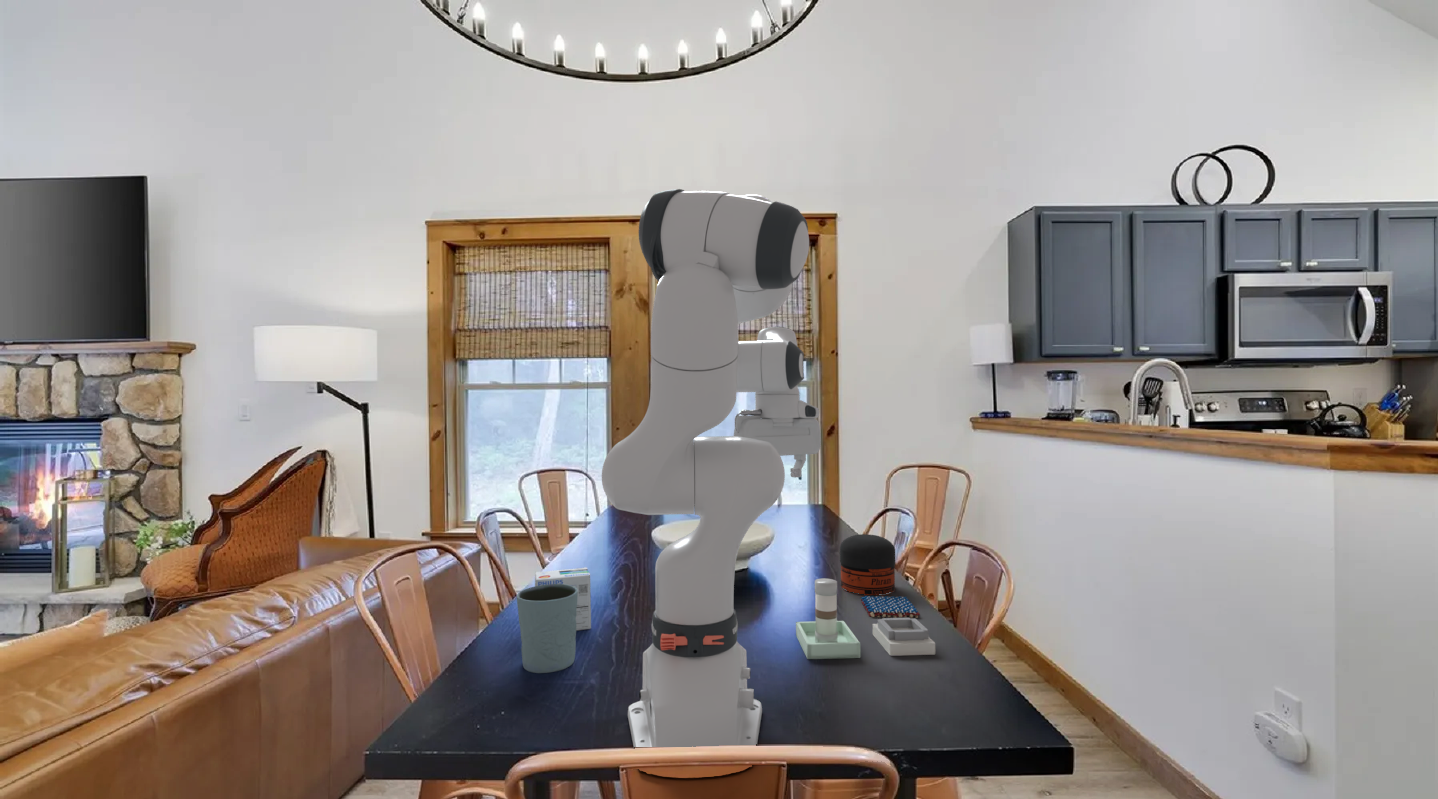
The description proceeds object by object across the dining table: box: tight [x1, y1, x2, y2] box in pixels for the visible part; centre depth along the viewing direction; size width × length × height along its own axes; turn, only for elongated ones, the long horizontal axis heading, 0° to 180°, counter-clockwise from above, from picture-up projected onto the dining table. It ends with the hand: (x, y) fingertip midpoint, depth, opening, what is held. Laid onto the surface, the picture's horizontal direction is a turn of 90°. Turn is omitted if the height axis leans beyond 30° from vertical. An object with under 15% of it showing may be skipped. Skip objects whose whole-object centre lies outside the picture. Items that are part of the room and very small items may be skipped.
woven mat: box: [860, 595, 921, 619], centre depth 129 cm, size 10×11×2 cm
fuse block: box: [872, 617, 936, 657], centre depth 110 cm, size 10×8×4 cm
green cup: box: [516, 584, 578, 674], centre depth 103 cm, size 10×10×12 cm
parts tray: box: [795, 620, 861, 660], centre depth 109 cm, size 11×9×2 cm
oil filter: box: [839, 533, 896, 596], centre depth 145 cm, size 13×12×13 cm
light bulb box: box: [534, 567, 592, 631], centre depth 120 cm, size 11×7×11 cm, turn 108°
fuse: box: [814, 577, 838, 643], centre depth 109 cm, size 4×4×11 cm
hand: (778, 478), depth 120 cm, fingers open, 8 cm apart
